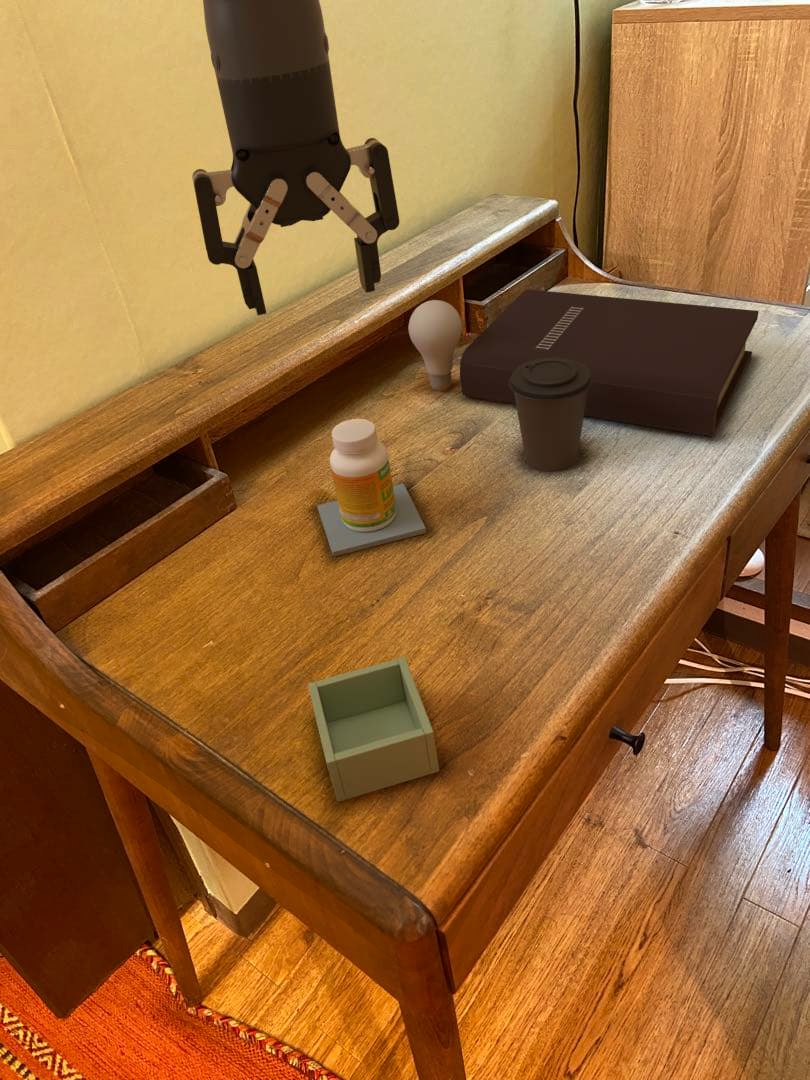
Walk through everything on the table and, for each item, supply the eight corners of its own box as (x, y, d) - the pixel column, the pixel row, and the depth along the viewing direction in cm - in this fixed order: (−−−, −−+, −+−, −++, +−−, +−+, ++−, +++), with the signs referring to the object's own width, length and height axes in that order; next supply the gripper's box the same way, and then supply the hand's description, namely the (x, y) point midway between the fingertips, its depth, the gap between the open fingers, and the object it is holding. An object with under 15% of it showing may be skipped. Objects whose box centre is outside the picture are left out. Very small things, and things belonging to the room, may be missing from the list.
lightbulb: (440, 373, 102) (432, 287, 95) (477, 386, 98) (471, 298, 91) (405, 393, 99) (394, 306, 92) (442, 407, 95) (433, 318, 88)
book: (461, 403, 95) (457, 356, 92) (526, 332, 108) (525, 289, 104) (710, 444, 83) (717, 392, 79) (751, 359, 96) (758, 310, 92)
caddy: (337, 802, 55) (326, 763, 53) (318, 722, 61) (307, 683, 58) (439, 771, 56) (433, 731, 54) (411, 695, 62) (404, 655, 59)
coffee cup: (504, 442, 88) (500, 356, 82) (579, 431, 88) (581, 344, 82) (520, 484, 81) (516, 395, 75) (600, 472, 81) (604, 381, 75)
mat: (333, 557, 76) (332, 552, 76) (318, 509, 82) (317, 505, 82) (426, 532, 77) (425, 527, 77) (404, 488, 83) (403, 483, 83)
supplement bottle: (396, 531, 77) (382, 442, 71) (339, 535, 77) (321, 448, 71) (397, 497, 81) (384, 411, 75) (343, 502, 82) (326, 417, 76)
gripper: (364, 39, 58) (391, 267, 68) (161, 72, 56) (219, 302, 66) (390, 51, 52) (415, 298, 62) (164, 87, 50) (228, 337, 60)
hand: (314, 300), depth 64 cm, fingers open, 8 cm apart
